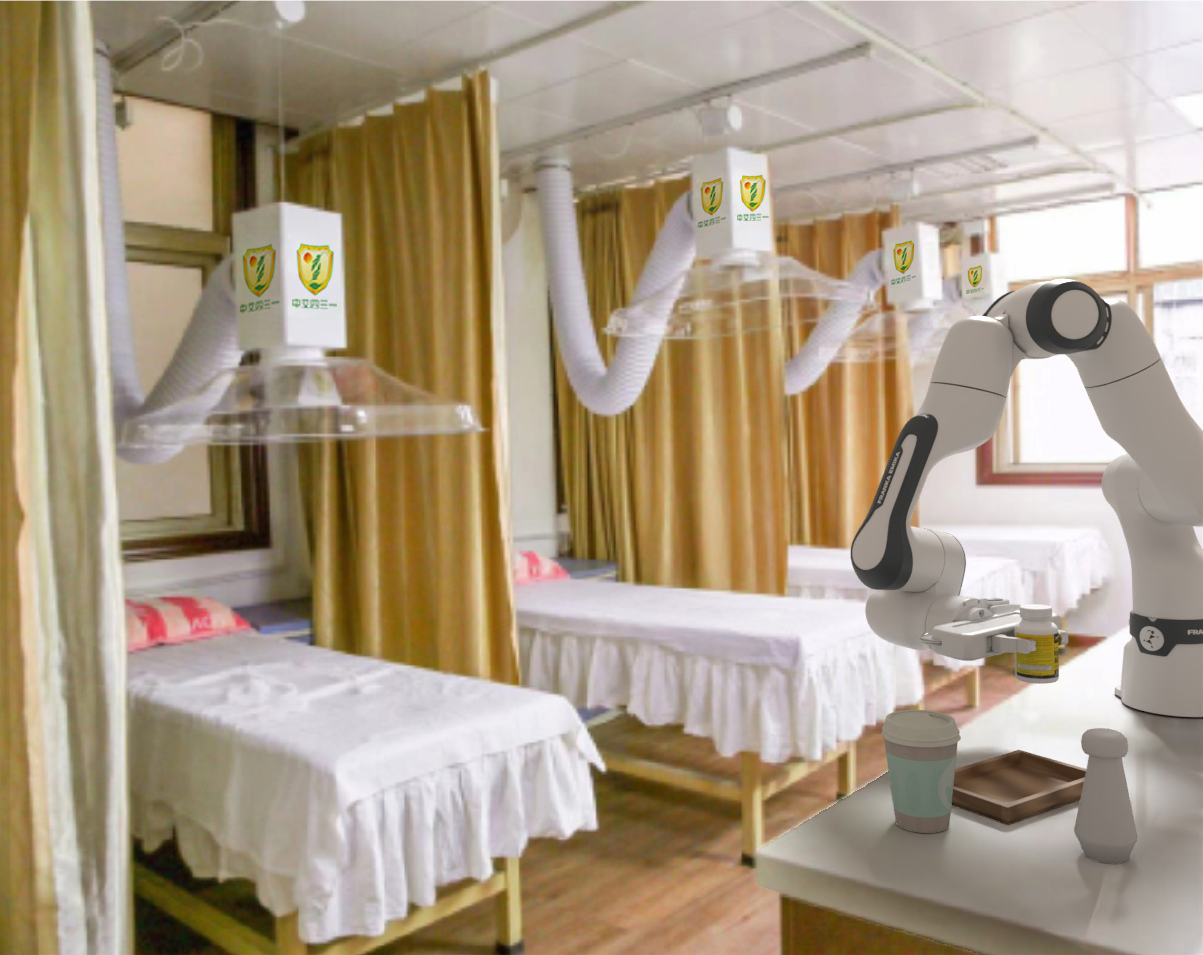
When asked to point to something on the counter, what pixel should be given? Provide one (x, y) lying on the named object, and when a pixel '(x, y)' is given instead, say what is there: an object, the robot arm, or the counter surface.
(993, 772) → the tray
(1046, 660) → the supplement bottle
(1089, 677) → the counter surface
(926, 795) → the coffee cup
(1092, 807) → the salt shaker
